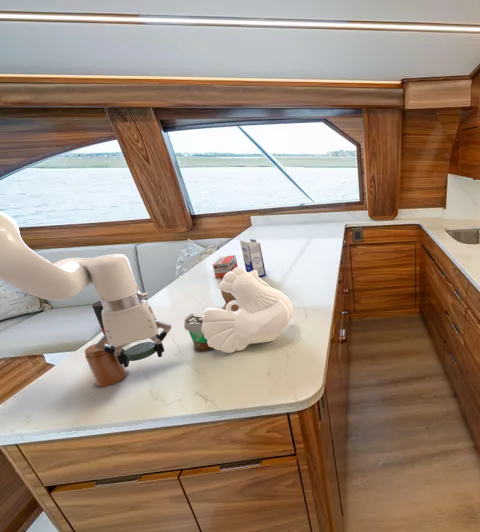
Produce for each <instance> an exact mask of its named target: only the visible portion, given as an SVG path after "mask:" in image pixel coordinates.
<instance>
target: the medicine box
mask: <svg viewBox="0 0 480 532" xmlns="http://www.w3.org/2000/svg"><path fill="white" fill-rule="evenodd" d="M237 260H238V259H237V256H236V254H234V255H225V256H224V255H223V256H219V257H218V258H217V259H216V260H215V261H214V262H213V263H212V264H211V265H212V268H213V272H214V276H215V279H219V278H223V277H224V275H225V274H226V273H228V272H230V271H233V269H234V268H236V267H239V264H238V261H237Z"/></svg>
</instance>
